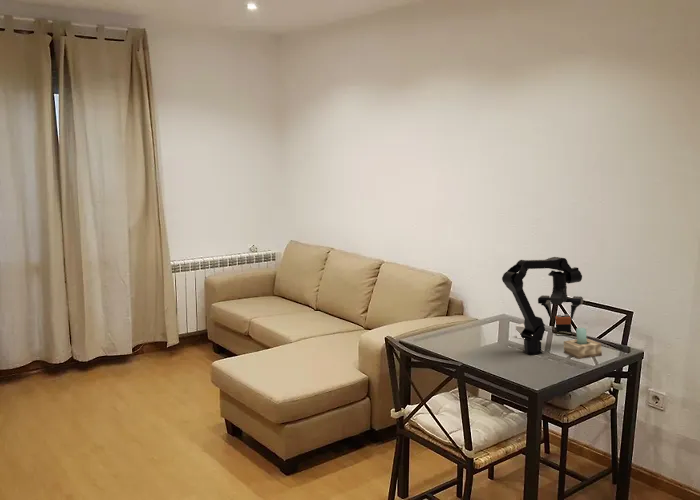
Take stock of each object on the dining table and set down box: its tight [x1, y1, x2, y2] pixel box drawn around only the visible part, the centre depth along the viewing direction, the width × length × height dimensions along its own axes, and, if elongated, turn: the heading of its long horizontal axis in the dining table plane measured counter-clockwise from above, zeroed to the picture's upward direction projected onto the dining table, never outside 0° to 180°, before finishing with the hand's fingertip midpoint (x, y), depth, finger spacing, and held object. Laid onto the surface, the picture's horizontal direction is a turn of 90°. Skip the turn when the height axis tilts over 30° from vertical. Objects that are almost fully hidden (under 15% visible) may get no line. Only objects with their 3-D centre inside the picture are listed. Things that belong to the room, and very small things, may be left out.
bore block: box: [563, 338, 603, 360], centre depth 265 cm, size 11×11×5 cm
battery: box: [555, 313, 572, 333], centre depth 297 cm, size 4×7×10 cm, turn 76°
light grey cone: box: [515, 322, 525, 335], centre depth 299 cm, size 6×6×6 cm
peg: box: [575, 327, 588, 345], centre depth 264 cm, size 4×4×10 cm
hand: (561, 318), depth 277 cm, fingers open, 9 cm apart
